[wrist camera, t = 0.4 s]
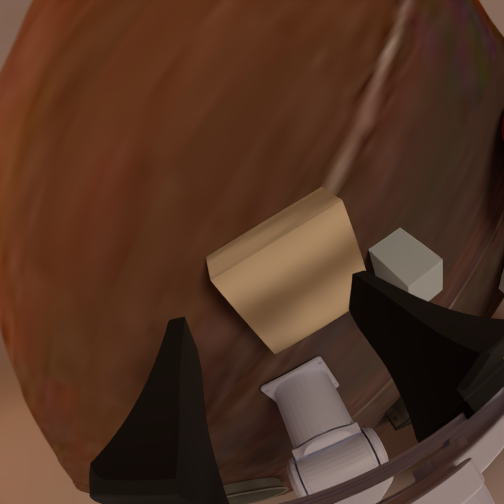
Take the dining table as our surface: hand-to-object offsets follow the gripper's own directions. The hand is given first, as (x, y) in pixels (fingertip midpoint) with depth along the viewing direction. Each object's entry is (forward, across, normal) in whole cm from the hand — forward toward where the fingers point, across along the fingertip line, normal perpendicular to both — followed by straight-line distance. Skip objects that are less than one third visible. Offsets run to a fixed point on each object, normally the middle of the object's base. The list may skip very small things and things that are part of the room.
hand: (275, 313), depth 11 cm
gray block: (+10, -14, +7) cm, 19 cm away
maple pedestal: (+10, -4, +5) cm, 12 cm away
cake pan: (+11, +11, +81) cm, 83 cm away
